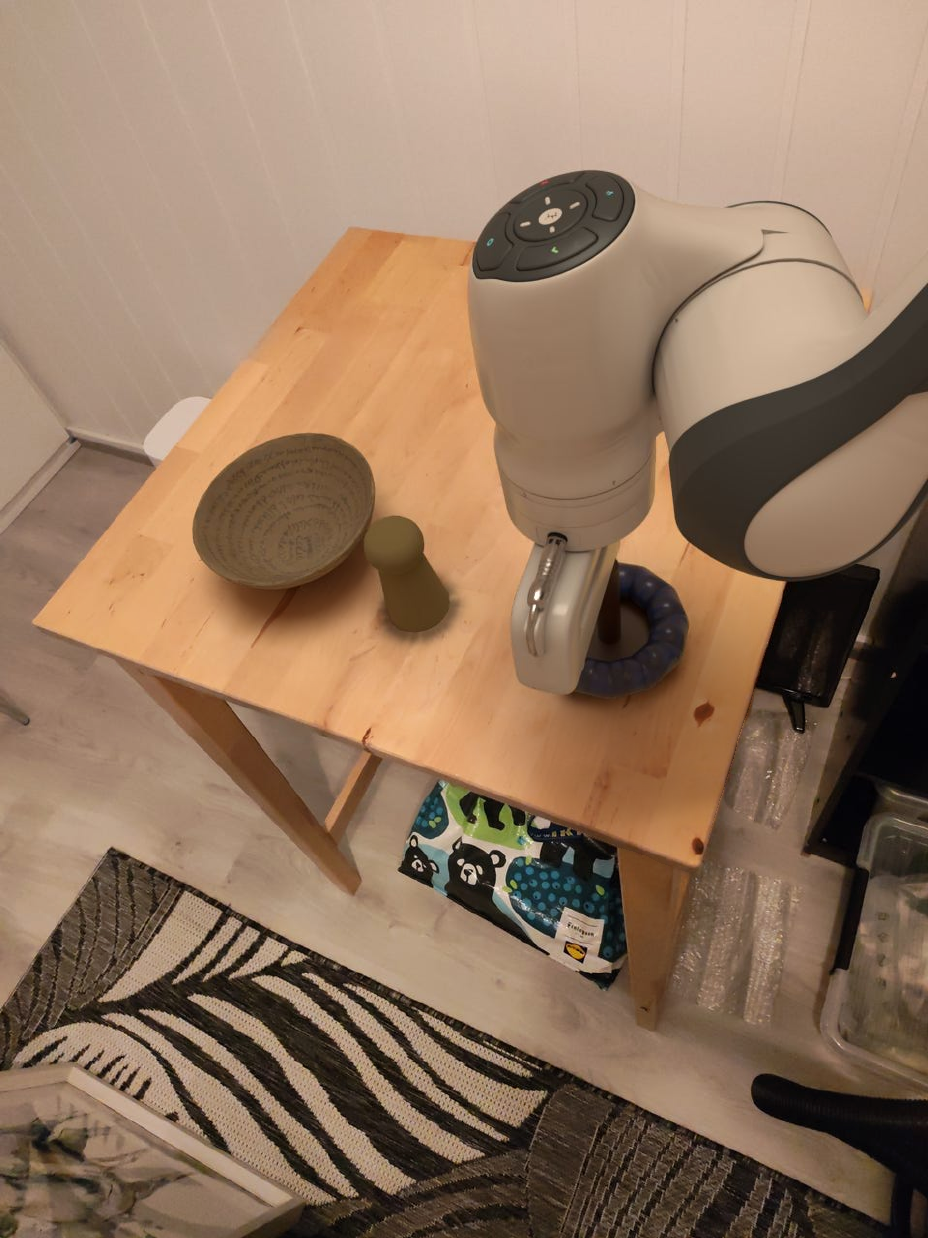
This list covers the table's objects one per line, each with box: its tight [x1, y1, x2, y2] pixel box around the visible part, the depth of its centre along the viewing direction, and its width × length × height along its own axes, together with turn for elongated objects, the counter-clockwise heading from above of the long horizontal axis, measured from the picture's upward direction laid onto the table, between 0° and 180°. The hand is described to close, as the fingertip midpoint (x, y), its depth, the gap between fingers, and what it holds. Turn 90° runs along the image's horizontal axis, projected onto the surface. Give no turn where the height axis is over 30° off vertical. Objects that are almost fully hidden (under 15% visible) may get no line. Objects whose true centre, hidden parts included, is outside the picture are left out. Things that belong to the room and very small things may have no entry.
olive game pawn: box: [363, 515, 450, 633], centre depth 72 cm, size 6×6×11 cm
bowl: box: [191, 432, 376, 590], centre depth 79 cm, size 18×18×8 cm
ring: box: [572, 561, 690, 700], centre depth 68 cm, size 13×13×3 cm
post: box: [587, 558, 651, 662], centre depth 66 cm, size 8×8×11 cm
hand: (590, 605), depth 58 cm, fingers open, 8 cm apart
